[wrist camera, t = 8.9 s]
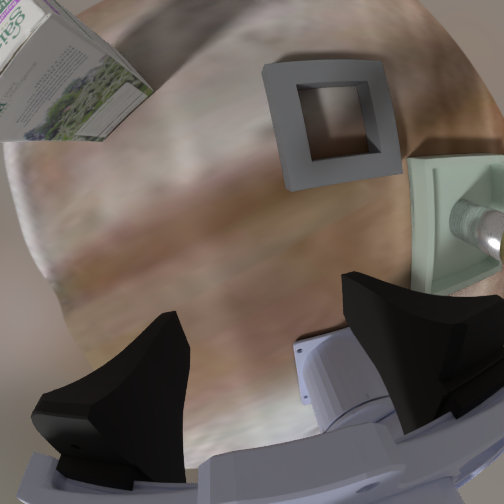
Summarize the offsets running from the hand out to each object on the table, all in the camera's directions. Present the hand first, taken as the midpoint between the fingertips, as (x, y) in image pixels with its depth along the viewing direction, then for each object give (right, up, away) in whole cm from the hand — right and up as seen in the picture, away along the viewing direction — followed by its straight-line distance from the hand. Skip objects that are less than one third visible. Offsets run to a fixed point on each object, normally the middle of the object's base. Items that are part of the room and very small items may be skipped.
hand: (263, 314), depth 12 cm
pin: (+20, +6, +10) cm, 23 cm away
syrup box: (-11, +15, +5) cm, 19 cm away
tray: (+20, +6, +11) cm, 24 cm away
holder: (+6, +12, +7) cm, 15 cm away
